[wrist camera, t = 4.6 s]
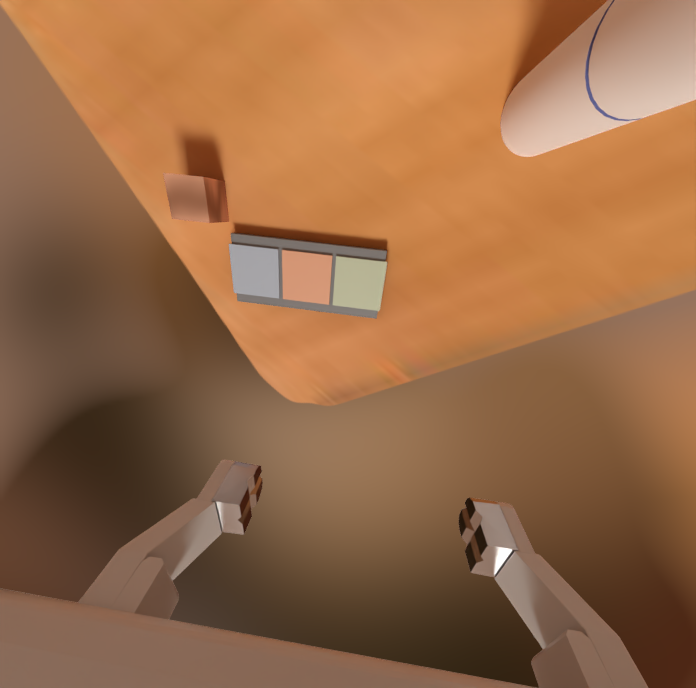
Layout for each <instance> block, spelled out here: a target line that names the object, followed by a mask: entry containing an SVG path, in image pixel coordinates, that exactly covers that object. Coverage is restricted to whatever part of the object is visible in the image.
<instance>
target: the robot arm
mask: <svg viewBox="0 0 696 688" xmlns="http://www.w3.org/2000/svg"><path fill="white" fill-rule="evenodd" d="M261 472H262V470H261V466H259V465H253V464H247V463H242V462H236V461H230V460H222V461H221V462H220V463H219V464H218V466H217V467H216V469H215V471H214V472H213V474H212V475H211V477H210V479H209V480H208V482H207V483H206V485H205V486H204V488H203V490H202V491H201V493H200V494H199V496H198V497H197V499H191V500H190V501H188V502H187V503H185V504H184V505H183V506H181V507H180V508H178V509H177V510H176V511H174V512H172V513H171V514H170V515H168V516H167V517H165V518H164V519H162V520H161V521H159V522H158V523H156V524H155V525H154V526H152V527H151V528H149V529H148V530H146V531H145V532H143V533H142V534H141V535H139V536H138V537H136V538H135V539H133V540H132V541H130V542H129V543H127V544H126V545H125V546H123V547H122V548H120V549H119V550H118V551H117V553H116V554H115V555H114V557H113V558H112V559H111V560H110V562H109V563H108V564H107V566H106V567H105V568H104V570H103V571H102V572H101V574H100V575H99V576H98V578H97V579H96V580H95V581H94V583H93V584H92V585H91V586H90V588H89V589H88V590H87V592H86V593H85V594H84V596H83V597H82V598H81V599H80V601H79V602H78V603H77V602H71V601H66V600H61V599H55V598H49V597H44V596H38V595H33V594H28V593H22V592H17V591H12V590H6V589H0V688H535V687H529V686H524V685H519V684H514V683H508V682H502V681H497V680H492V679H486V678H481V677H475V676H470V675H465V674H459V673H454V672H448V671H443V670H438V669H433V668H427V667H422V666H416V665H411V664H406V663H400V662H395V661H389V660H384V659H378V658H373V657H368V656H362V655H357V654H352V653H346V652H341V651H335V650H330V649H325V648H319V647H314V646H308V645H303V644H298V643H292V642H287V641H282V640H276V639H270V638H265V637H259V636H255V635H249V634H244V633H238V632H233V631H227V630H222V629H216V628H211V627H206V626H201V625H195V624H190V623H185V622H179V621H173V620H169V618H170V616H171V614H172V612H173V610H174V608H175V606H176V604H177V602H178V600H179V596H178V592H177V590H176V588H175V586H174V584H173V580H174V579H175V578H176V577H177V576H178V575H179V574H180V573H181V572H182V571H183V570H184V569H185V568H186V567H187V566H188V565H189V564H190V563H191V562H192V561H193V560H194V559H195V558H197V557H198V556H199V555H200V554H201V553H202V552H203V551H204V550H205V549H206V548H207V547H208V546H209V545H210V544H211V543H212V542H213V541H214V540H215V539H216V538H217V537H218V536H219V535H220V534H221V532H229V533H237V534H243V535H244V534H245V531H246V529H247V526H248V524H249V522H250V519H251V517H252V513H251V508H253V507H254V506H255V505H256V504H257V502H258V500H259V497H260V494H261V490H262V483H263V482H262V478H261V477H260V474H261ZM465 505H466V508H464V509H462V510H461V512H460V514H459V530H460V534H461V537H462V539H463V540H464V541H465V542H466V544H467V547H466V549H465V553H466V557H467V561H468V565H469V569H470V572H471V573H475V574H480V575H486V576H491V577H496V578H495V580H496V581H497V583H498V584H499V586H500V587H501V589H502V590H503V592H504V593H505V594H506V596H507V597H508V599H509V600H510V602H511V603H512V605H513V606H514V607H515V609H516V610H517V612H518V613H519V615H520V616H521V618H522V619H523V621H524V622H525V623H526V625H527V626H528V628H529V629H530V631H531V632H532V634H533V635H534V637H535V638H536V639H537V641H538V642H539V644H540V645H541V647H542V648H543V650H542V651H541V652H539V653H538V654H537V655H536V656H535V657H533V660H532V661H531V664H532V667H533V670H534V673H535V676H536V679H537V682H538V685H539V688H648V686H647V685H646V683H645V681H644V679H643V678H642V676H641V674H640V672H639V671H638V669H637V667H636V665H635V664H634V662H633V660H632V658H631V657H630V655H629V653H628V651H627V649H626V648H625V646H624V644H623V643H622V641H621V639H620V637H619V636H618V635H617V634H616V633H615V632H614V631H613V630H612V629H611V628H610V627H609V626H608V625H607V624H606V623H605V622H604V621H603V620H602V619H601V618H600V617H599V616H598V614H597V613H596V612H595V611H594V610H593V609H592V608H591V607H590V606H589V605H588V604H587V603H586V602H585V601H584V600H583V599H582V598H581V597H580V596H579V595H578V594H577V593H576V592H575V591H574V590H573V589H572V588H571V587H570V586H569V585H568V584H567V583H566V582H565V580H563V579H562V577H561V576H560V575H559V574H558V573H557V572H556V571H555V570H554V569H553V568H552V567H551V566H550V565H549V564H548V563H547V562H546V561H545V560H544V559H543V558H542V557H541V556H540V555H538V554H535V553H534V550H533V548H532V546H531V544H530V542H529V540H528V537H527V536H526V533H525V531H524V530H523V527H522V525H521V523H520V520H519V518H518V516H517V514H516V512H515V510H514V508H513V506H512V505H511V504H509V503H502V502H495V501H491V500H484V499H476V498H468V499H467V500H466V502H465Z"/></svg>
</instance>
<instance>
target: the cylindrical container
mask: <svg viewBox="0 0 696 688" xmlns="http://www.w3.org/2000/svg"><path fill="white" fill-rule="evenodd" d="M693 100H696V0H608V1H607V2H605V3H604V4H603V5H602V6H601V7H600V8H599V9H598V10H597V11H596V12H595V13H593V14H592V15H591V16H590V17H589V18H588V19H587V20H586V21H585V22H584V23H583V24H581V25H580V26H579V27H578V28H577V29H576V30H575V31H574V32H573V33H572V34H571V35H569V36H568V37H567V38H566V39H565V40H564V41H563V42H562V43H561V44H560V45H559V46H557V47H556V48H555V49H554V50H553V51H552V52H551V53H550V54H549V55H548V56H547V57H545V58H544V59H543V60H542V61H541V62H540V63H539V64H538V65H537V66H536V67H535V68H533V69H532V70H531V71H530V72H529V73H528V74H527V75H526V76H525V77H524V78H523V79H522V80H520V82H519V83H518V84H517V85H516V86H515V87H514V89H513V90H512V92H511V93H510V95H509V96H508V99H507V101H506V103H505V105H504V108H503V112H502V116H501V135H502V139H503V141H504V143H505V145H506V146H507V148H508V149H509V150H510V151H512V152H513V153H514V154H516V155H519V156H524V157H531V156H536V155H539V154H542V153H545V152H548V151H551V150H554V149H557V148H559V147H562V146H565V145H568V144H571V143H574V142H577V141H579V140H582V139H585V138H588V137H591V136H594V135H596V134H599V133H602V132H605V131H608V130H611V129H613V128H616V127H619V126H622V125H625V124H628V123H631V122H633V121H636V120H639V119H642V118H645V117H648V116H650V115H653V114H656V113H659V112H662V111H665V110H668V109H670V108H673V107H676V106H679V105H682V104H685V103H687V102H690V101H693Z"/></svg>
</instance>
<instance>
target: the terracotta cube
mask: <svg viewBox="0 0 696 688" xmlns="http://www.w3.org/2000/svg"><path fill="white" fill-rule="evenodd" d="M163 175H164V180H165V185H166V190H167V195H168V201H169V206H170V211H171V216H172V219H179V220H188V221H197V222H206V223H216V222H229V217H228V208H227V198H226V189H225V181H221V180H216V179H212V178H207V177H200V176H190V175H180V174H170V173H163Z"/></svg>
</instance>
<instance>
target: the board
mask: <svg viewBox="0 0 696 688" xmlns="http://www.w3.org/2000/svg"><path fill="white" fill-rule="evenodd" d="M231 241H232V244H229V250H230V260H231V269H232V279H233V288H234V293H237V300H238V301H242V302H249V303H257V304H265V305H273V306H281V307H289V308H297V309H305V310H313V311H321V312H329V313H336V314H344V315H352V316H360V317H368V318H377V312H378V311H380V305H381V299H382V293H383V287H384V280H385V274H386V268H387V262H385V260H386V254H387V250H382V249H373V248H365V247H356V246H347V245H338V244H330V243H321V242H312V241H303V240H295V239H286V238H277V237H268V236H259V235H251V234H242V233H231Z"/></svg>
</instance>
